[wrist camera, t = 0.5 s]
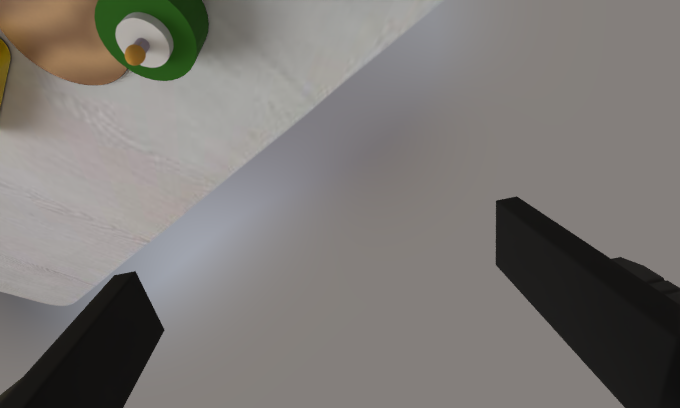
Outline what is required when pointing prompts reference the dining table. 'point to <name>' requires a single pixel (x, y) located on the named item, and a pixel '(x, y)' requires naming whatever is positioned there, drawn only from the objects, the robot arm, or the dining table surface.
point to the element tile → (3, 66)
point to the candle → (153, 34)
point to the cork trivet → (60, 39)
